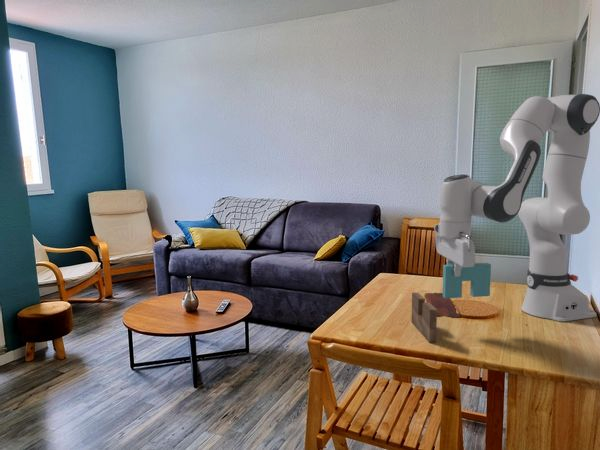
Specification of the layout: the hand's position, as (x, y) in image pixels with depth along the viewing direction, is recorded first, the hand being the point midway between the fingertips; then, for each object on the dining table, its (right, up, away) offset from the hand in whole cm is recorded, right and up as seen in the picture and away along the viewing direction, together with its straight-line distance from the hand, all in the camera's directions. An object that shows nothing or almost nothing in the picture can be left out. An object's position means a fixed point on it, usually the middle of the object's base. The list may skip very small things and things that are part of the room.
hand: (454, 274), depth 130 cm
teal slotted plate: (+4, -7, +1) cm, 8 cm away
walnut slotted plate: (-9, -18, +2) cm, 20 cm away
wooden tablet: (+5, -15, +27) cm, 31 cm away
